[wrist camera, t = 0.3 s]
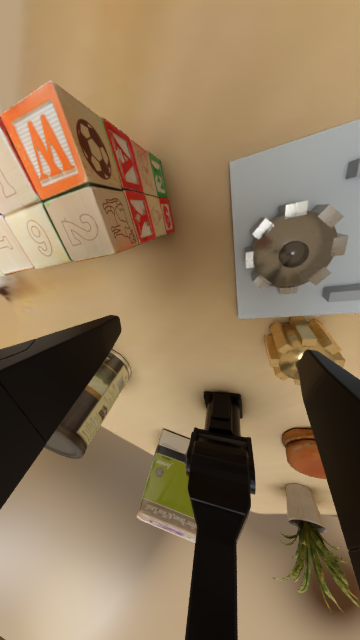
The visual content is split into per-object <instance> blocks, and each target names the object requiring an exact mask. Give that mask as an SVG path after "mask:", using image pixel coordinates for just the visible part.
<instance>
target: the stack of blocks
mask: <svg viewBox="0 0 360 640" xmlns="http://www.w3.org/2000/svg"><path fill="white" fill-rule="evenodd" d="M172 232H174V225H173V220H172V215H171V211H170V206H169V200H168V198H167V193H166V188H165V183H164V178H163V172H162V168H161V162H160V160H159V159H158V158H156V157H155V156H154V155H153V154H151V153H150V152H149V151H146V150H144V149H143V148H142V147H140V146H139V145H138V144H136V143H135V142H133V141H132V140H130V139H129V137H128V136H127V135H126V134H124V133H123V132H122V131H121V130H119V129H117V128H116V127H115V126H114V125H112V124H111V123H110V122H108V121H107V120H106V119H104V118H101V117H99V116H98V115H96V114H95V113H94V112H93V111H91V110H90V109H89V108H87V107H86V106H85V105H84V104H82V103H81V102H80V101H78V100H77V99H76V98H74V97H73V96H72V95H70V94H69V93H67V92H66V91H65V90H64V89H62V88H61V87H60V86H59V85H57V84H56V83H54V82H52V81H51V80H49V81H48V82H46V83H45V84H43V85H42V86H40V87H39V88H37V89H36V90H35V91H33V92H32V93H30V94H29V95H28V96H26V97H25V98H23V99H22V100H20V101H18V102H17V103H15V104H14V105H13V106H12V107H10V108H9V109H7V110H6V111H4V112H3V113H1V117H0V277H2V276H6V275H10V274H13V273H16V272H20V271H23V270H27V269H30V268H36V269H41V268H46V267H50V266H55V265H59V264H64V263H69V262H73V261H74V262H77V261H82V260H87V259H92V258H98V257H103V256H108V255H112V254H116V253H119V252H121V251H124V250H126V249H129V248H132V247H134V246H136V245H140V244H143V243H146V242H149V241H151V240H153V239H155V238H157V237H159V236H164V235H167V234H169V233H172Z"/></svg>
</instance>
